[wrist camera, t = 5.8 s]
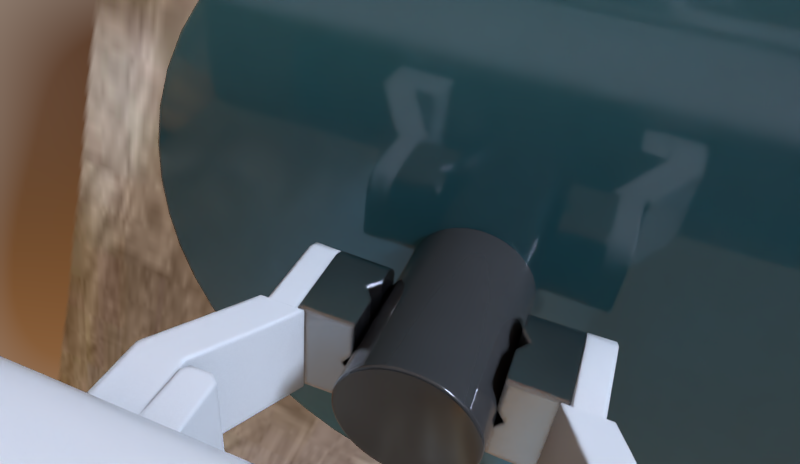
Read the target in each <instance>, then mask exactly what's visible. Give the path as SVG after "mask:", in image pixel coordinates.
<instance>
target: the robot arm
mask: <svg viewBox="0 0 800 464" xmlns="http://www.w3.org/2000/svg"><path fill="white" fill-rule="evenodd" d="M394 274H395V272H394V270H393V269H392V268H389V267H386V266H383V265H380V264H378V263H375V262H372V261H369V260H367V259H364V258H361V257H358V256H355V255H353V254H350V253H347V252H344V251H339V250H337V249H334V248H331V247H329V246H326V245H323V244H320V243H318V242H316V243H314V244H312V245H311V246H309V247H308V249H307V250H306V251H305V252H304V254H303V255H302V256H301V257H300V259H299V260H298V261H297V262H296V263H295V265H294V266H293V267H292V268H291V270H290V271H289V272H288V273H287V275H286V276H285V277H284V278H283V280H282V281H281V282H280V283H279V285H278V286H277V287H276V288H275V289H274V291H273V292H272V293H271V294H270V296H269V297H266V296H263V295H259V296H256V297H254V298H251V299H248V300H246V301H243V302H240V303H238V304H235V305H232V306H229V307H227V308H224V309H221V310H219V311H216V312H213V313H211V314H208V315H205V316H203V317H200V318H197V319H195V320H192V321H189V322H186V323H184V324H181V325H178V326H176V327H173V328H170V329H168V330H165V331H162V332H160V333H157V334H154V335H151V336H149V337H146V338H143V339H141V340H138V341H136V342H135V343H134V344H133V345H132V346H131V347H130V348H129V349H128V350H127V351H126V353H125V354H124V355H123V356H122V357H121V358H120V359H119V360H118V361H117V362H116V363H115V364H114V365H113V366H112V367H111V368H110V369H109V370H108V371H107V372H106V373H105V374H104V375H103V376H102V377H101V378H100V379H99V380H98V381H97V382H96V384H95V385H94V386H93V387H92V388H91V389H90V390H89V391H88V392H87V393H86V392H84V391H81V390H79V389H77V388H74V387H72V386H70V385H67V384H65V383H63V382H60V381H58V380H56V379H53V378H51V377H48V376H46V375H44V374H41V373H39V372H37V371H34V370H32V369H29V368H27V367H25V366H22V365H20V364H18V363H16V362H13V361H11V360H8V359H6V358H4V357H1V356H0V464H253V463H251V462H248V461H246V460H244V459H241V458H239V457H236V456H234V455H232V454H229V453H227V452H225V451H224V443H223V433H225V432H227V431H228V430H230V429H232V428H233V427H235V426H237V425H238V424H240V423H242V422H244V421H245V420H247V419H249V418H250V417H252V416H254V415H255V414H257V413H259V412H261V411H262V410H264V409H266V408H267V407H269V406H271V405H272V404H274V403H276V402H278V401H279V400H281V399H283V398H284V397H286V396H288V395H289V394H291V393H293V392H295V391H296V390H298V389H300V388H301V387H303V386H304V384H307V385H310V386H313V387H315V388H318V389H321V390H324V391H327V392H330V393H332V389H333V387H334V384H335V382H336V381H337V379H338V377H339V376H340V374H341V372H342V371H343V369H344V367H345V365H346V364H347V362H348V360H349V359H350V357H351V355H352V354H353V352H354V350H355V349H356V347H357V345H358V344H359V342H360V340H361V339H362V337H363V335H364V334H365V332H366V330H367V329H368V327H369V325H370V324H371V322H372V320H373V319H374V317H375V315H376V314H377V312H378V310H379V308H380V307H381V305H382V303H383V302H384V300H385V298H386V297H387V295H388V293H389V292H390V290H391V288H392V287H393V285H394ZM618 349H619V346H618V343H617V342H615V341H612V340H609V339H606V338H603V337H600V336H596V335H593V334H590V333H587V334H586V332H583V331H580V330H577V329H574V328H571V327H568V326H564V325H561V324H558V323H555V322H552V321H549V320H546V319H543V318H540V317H537V316H534V315H530V314H528V316H527V319H526V322H525V324H524V327H523V330H522V333H521V337H520V340H519V343H518V346H517V349H516V351H515V354H514V357H513V360H512V363H511V366H510V369H509V372H508V375H507V378H506V381H505V385H504V388H503V391H502V394H501V397H500V401H499V404H498V407H497V410H498V414H497V417H496V420H495V423H494V426H493V429H492V432H491V435H490V438H489V441H488V444H487V447H486V450H485V452H486V453H488V454H491V455H493V456H496V457H498V458H500V459H503V460H505V461H508V462H510V463H512V464H637V463H636V461H635V459H634V457H633V455H632V453H631V451H630V449H629V447H628V445H627V443H626V441H625V440H624V438H623V436H622V434H621V432H620V430H619V428H618V426H617V424H616V423H615V422H613V421H610V420H608V419H607V414H608V408H609V402H610V396H611V390H612V384H613V379H614V373H615V367H616V361H617V355H618Z"/></svg>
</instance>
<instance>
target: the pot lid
mask: <svg viewBox="0 0 800 464" xmlns="http://www.w3.org/2000/svg"><path fill="white" fill-rule="evenodd" d="M158 143H159V154H160V166H161V177H162V182H163V187H164V191H165V196H166V201H167V205H168V210H169V214H170V217H171V220H172V223H173V226H174V229H175V232H176V234H177V237H178V240H179V243H180V246H181V248H182V250H183V253H184V255H185V257H186V259H187V261H188V263H189V266H190V268H191V270H192V272H193V274H194V276H195V278H196V280H197V282H198V283H199V285H200V287H201V289H202V290H203V292H204V294H205V295H206V297H207V299H208V300H209V302H210V304H211V306H212V307H213V309H214V310H215V311H219V310H221V309H224V308H227V307H229V306H232V305H235V304H238V303H240V302H243V301H246V300H248V299H251V298H254V297H256V296H259V295H263V296H266V297H269V296H270V294H271V293H272V292H273V291H274V289H275V288H276V287H277V286H278V285H279V283H280V282H281V281H282V280H283V278H284V277H285V276H286V275H287V273H288V272H289V271H290V270H291V268H292V267H293V266H294V265H295V263H296V262H297V261H298V260H299V259H300V257H301V256H302V255H303V254H304V252H305V251H306V250H307V249H308V247H309V246H311V245H312V244H314V243H316V242H318V243H320V244H323V245H326V246H329V247H331V248H334V249H337V250H339V251H344V252H347V253H350V254H353V255H355V256H358V257H361V258H364V259H367V260H369V261H372V262H375V263H378V264H380V265H383V266H386V267H389V268H392V269H393V270H394V272H395V274H394V285H393V287H392V288H391V290H390V292H389V293H388V295H387V297H386V298H385V300H384V302H383V303H382V305H381V307H380V308H379V310H378V312H377V314H376V315H375V317H374V319H373V320H372V322H371V324H370V325H369V327H368V329H367V330H366V332H365V334H364V335H363V337H362V339H361V340H360V342H359V344H358V345H357V347H356V349H355V350H354V352H353V354H352V355H351V357H350V359H349V360H348V362H347V364H346V365H345V367H344V369H343V371H342V372H341V374H340V376H339V377H338V379H337V381H336V382H335V384H334V387H333V389H332V393H330V392H327V391H324V390H321V389H318V388H315V387H313V386H310V385H307V384H304V386H303V387H301V388H300V389H298V390H296V391H295V392H293V393H291V394H289V395H290V396H292V397H293V398H294V399H295V400H296V401H297V402H299V403H300V404H301V405H302V406H303V407H304V408H306V409H307V410H308V411H310V412H311V413H312V414H314V415H315V416H317V417H318V418H319V419H321V420H322V421H323V422H325V423H326V424H327V425H329V426H330V427H331V428H333V429H334V430H336V431H337V432H339V433H341V434H342V435H344V436H345V437H347V438H348V439H350V440H351V441H352V442H353V443H354V444H355V445H356V446H358V447H359V448H360V449H361V450H362V451H363V452H365V453H366V454H367V455H369V456H370V457H372V458H373V459H375V460H376V461H378V462H380V463H381V464H512V463H510V462H508V461H505V460H503V459H500V458H498V457H496V456H493V455H491V454H488V453H486V452H485V450H486V447H487V444H488V441H489V438H490V435H491V432H492V429H493V426H494V423H495V420H496V417H497V414H498V410H497V407H498V404H499V401H500V397H501V394H502V391H503V388H504V385H505V381H506V378H507V375H508V372H509V369H510V366H511V363H512V360H513V357H514V354H515V351H516V349H517V346H518V343H519V340H520V337H521V333H522V330H523V327H524V324H525V322H526V319H527V316H528V314H530V315H534V316H537V317H540V318H543V319H546V320H549V321H552V322H555V323H558V324H561V325H564V326H568V327H571V328H574V329H577V330H580V331H583V332H586V334H587V333H590V334H593V335H596V336H600V337H603V338H606V339H609V340H612V341H615V342H617V343H618V346H619V349H618V355H617V361H616V367H615V373H614V379H613V384H612V390H611V396H610V402H609V408H608V414H607V419H608V420H610V421H613V422H615V423H616V424H617V426H618V428H619V430H620V432H621V434H622V436H623V438H624V440H625V441H626V443H627V445H628V447H629V449H630V451H631V453H632V455H633V457H634V459H635V461H636V463H637V464H800V0H199V1H198V2H197V4H196V6H195V8H194V9H193V11H192V13H191V15H190V16H189V18H188V20H187V22H186V23H185V25H184V27H183V29H182V31H181V33H180V36H179V39H178V41H177V44H176V47H175V50H174V52H173V55H172V58H171V60H170V63H169V66H168V69H167V74H166V79H165V84H164V89H163V94H162V99H161V104H160V120H159V141H158Z"/></svg>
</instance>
